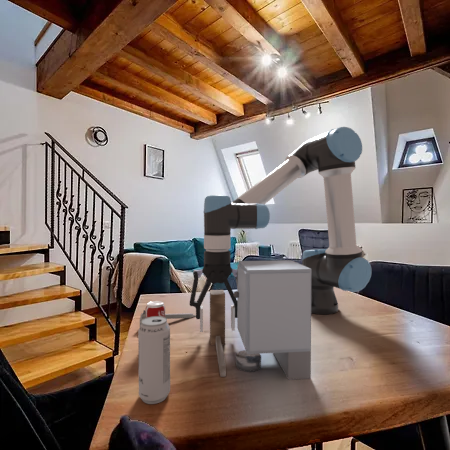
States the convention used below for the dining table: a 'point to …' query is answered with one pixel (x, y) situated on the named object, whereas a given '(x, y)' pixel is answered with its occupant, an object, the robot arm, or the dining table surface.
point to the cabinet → (276, 312)
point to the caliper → (169, 316)
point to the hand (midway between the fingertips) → (217, 329)
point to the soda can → (155, 309)
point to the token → (248, 361)
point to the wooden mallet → (218, 326)
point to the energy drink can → (154, 359)
